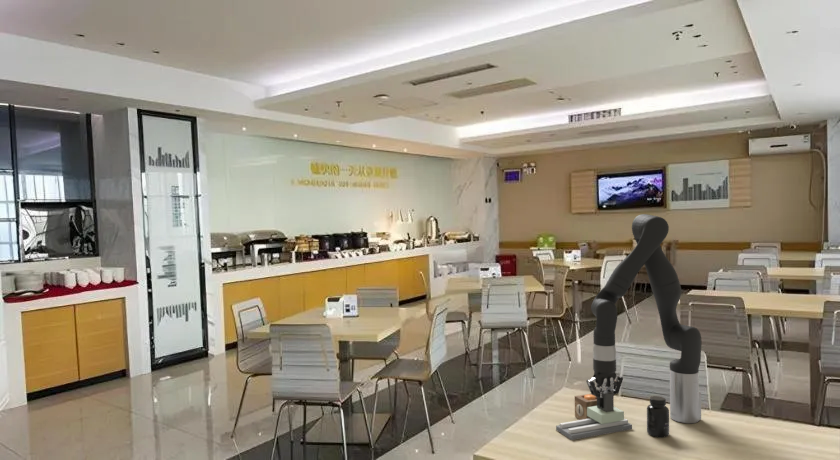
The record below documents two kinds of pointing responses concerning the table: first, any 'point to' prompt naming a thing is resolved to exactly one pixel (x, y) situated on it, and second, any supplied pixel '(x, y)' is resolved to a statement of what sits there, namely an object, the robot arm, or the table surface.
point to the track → (591, 428)
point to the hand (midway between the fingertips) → (605, 406)
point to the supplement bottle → (657, 417)
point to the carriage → (606, 410)
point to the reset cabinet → (583, 406)
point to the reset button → (589, 397)
